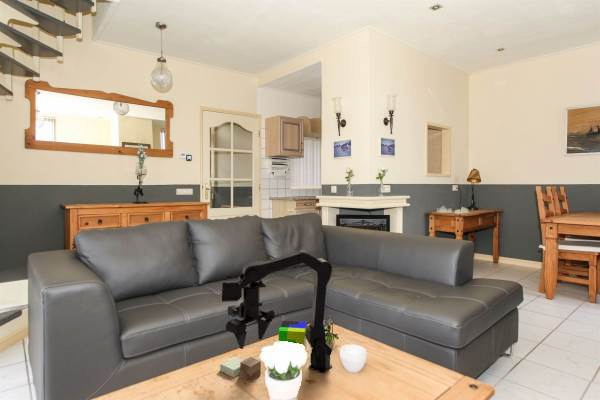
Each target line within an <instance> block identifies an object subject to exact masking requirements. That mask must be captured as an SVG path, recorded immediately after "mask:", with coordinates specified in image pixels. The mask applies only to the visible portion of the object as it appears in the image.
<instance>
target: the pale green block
mask: <svg viewBox="0 0 600 400" xmlns="http://www.w3.org/2000/svg"><path fill="white" fill-rule="evenodd" d="M243 360H244V359H241V358H239V357H238V356H233V357H230V358H229V359H227V360H224V361H222V362H221V363H220V366H219V371H220V372H222V373H224V374H226V375H228V376H230V377H232V378H235V377H238V376H240V362H242V361H243Z"/></svg>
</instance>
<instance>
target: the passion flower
mask: <svg viewBox="0 0 600 400" xmlns="http://www.w3.org/2000/svg"><path fill="white" fill-rule="evenodd" d="M323 324H324V329H325V334H326V342H327V343H328V344H329V345H331V344H332V343H333V342H334V343H335V340H339V339H340V338H339V336H338V335H339V334H338V333H334V329H333V328H334V322H333V320H331V318H329V319H326V320H325V319H324V323H323Z"/></svg>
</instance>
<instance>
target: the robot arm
mask: <svg viewBox="0 0 600 400" xmlns="http://www.w3.org/2000/svg"><path fill="white" fill-rule="evenodd" d="M301 264H304V265H306V266H307V267H308V268H310V269H311V273H312V278H313V282H314V284H313V285H314V286H313V297H312V298H313V299H312V309H311V321H310V323H309V325H308V324H307V325H306V326H305V328H306V332H305V337H306V342H307V343H308V345H309V346H310V348H311V352H310V358H309V359H310V361H309V362H310V363H309V365H308V368H309V369H311V370H314V371H316V372H319V373H321V374H324V373H326V371H328V370H329V369H331V368H332V367H333V364H331V355H332V352H333V349H332V347H331V346H330V344H328V343H327V342H326V338H327V336H326V332H325V329H324V324H323V323H324V321H325V311H326V310H325V308H326V297H327V287H328V286H327V285H328V284H329V282H330V280H331V277H332V274H333V266H332V264H331V263H330V262H328V261H327V260H326V259H324V258H321V257H318V258H317V257H315V256H313V255H311V254H310V253H308V252H306V251H305V250H304V249H299V250H298V251H296V252H293V253H288V254H285V255H282V256H279V257H278V256H277V257H276V258H271V259H268V260H256V261H249V262H247V263H245V264H244V265H243V267H242V272H241V273H240V275H239V276H238V277H237V279H236V280H232V281H231V280H230V281H229V280H228V281H227V280H222V281H221V289H220V301H221V303H226V302H227V303H228V302H238V301H240V300H241V298H242V301H241V302H240V304H239V305H236V306H235V305H233V304H232V305H230V306H227V315H228V316H229V317H232V318H233V319H231V320H228V321H226V323H225V331H228V332H230V333H232V334H233V335H234V336H235V339H236V342H237V344H238V346H239V349H240V350H244V346H245V343H246V342H245V341H246V338H247V331H246V330H247V326H248V325H249V324H252V323H254V322H256V324H257V331H258V332H257V334H258V340H260V341H261V340H263V337H264V335H265V334H266V332H267V330H268V328H269V326H270V324H271V323H272V322H273V319H275V318H276V317H275V316H276V315H275V314H276V313H275V311H274V310H273V309H271V308H269V307H268V308H267V307H264V306H263V302H261V288H266V287H267V286H266V285H267V284H266V283H265V282H264V281H263V280H262V279H265V278H266V277H267V276H268V275H270V274H272V273H274V272H275V273H276V272H279V271H281V270H284V269H288V268H291V267H294V266H297V265H301ZM261 306H262V307H261ZM234 317H238V318H240V319H242V320H240V319H238V318H234Z"/></svg>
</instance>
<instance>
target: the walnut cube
mask: <svg viewBox="0 0 600 400" xmlns="http://www.w3.org/2000/svg"><path fill="white" fill-rule="evenodd" d="M242 360H243V361H242V362H240V374H239V377H242V378H243V379H246V380H248V381H250V382H252V381H253V380H254V379H256V378H257V377H259V376H261V373H262V370H261V369H262V366H261V365H262V361H261V360H259V359H257V358H254V357H252V356H248V357H247V358H245V359H242Z"/></svg>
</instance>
